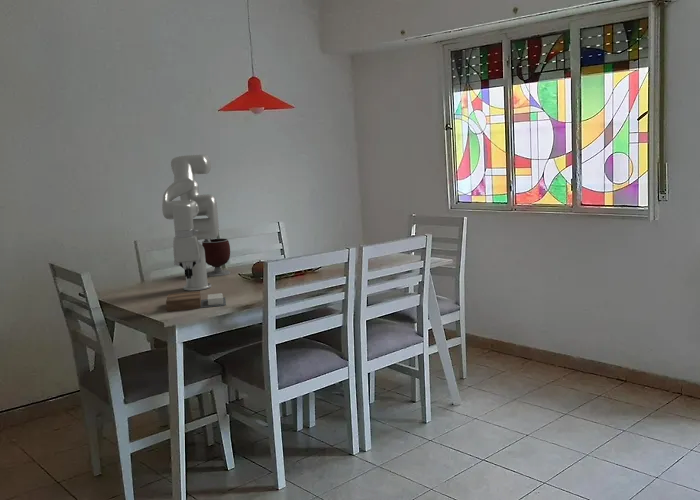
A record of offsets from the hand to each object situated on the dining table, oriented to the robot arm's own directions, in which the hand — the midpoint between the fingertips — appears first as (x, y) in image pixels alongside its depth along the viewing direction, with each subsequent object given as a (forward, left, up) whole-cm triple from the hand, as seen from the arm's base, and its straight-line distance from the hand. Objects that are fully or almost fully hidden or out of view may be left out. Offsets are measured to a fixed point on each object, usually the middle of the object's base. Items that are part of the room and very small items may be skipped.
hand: (189, 278), depth 278 cm
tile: (+1, +10, -8) cm, 13 cm away
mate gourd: (-65, +11, -11) cm, 67 cm away
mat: (+1, +9, -11) cm, 14 cm away
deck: (+1, -3, -11) cm, 11 cm away
